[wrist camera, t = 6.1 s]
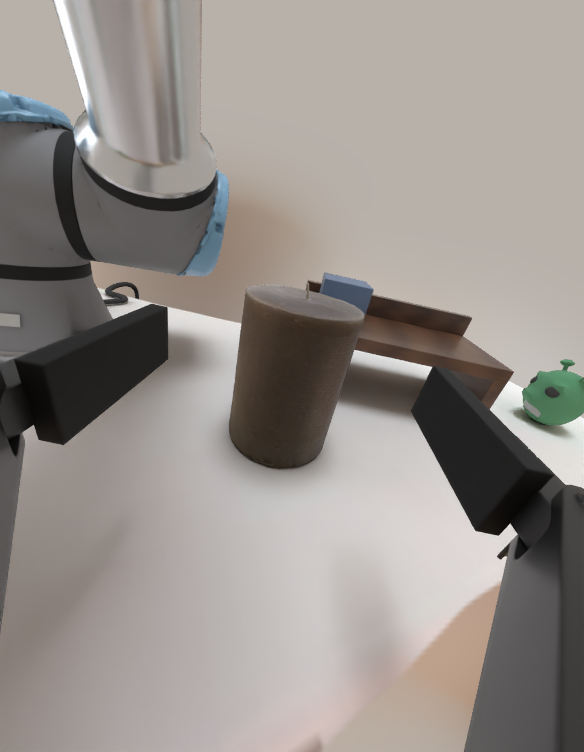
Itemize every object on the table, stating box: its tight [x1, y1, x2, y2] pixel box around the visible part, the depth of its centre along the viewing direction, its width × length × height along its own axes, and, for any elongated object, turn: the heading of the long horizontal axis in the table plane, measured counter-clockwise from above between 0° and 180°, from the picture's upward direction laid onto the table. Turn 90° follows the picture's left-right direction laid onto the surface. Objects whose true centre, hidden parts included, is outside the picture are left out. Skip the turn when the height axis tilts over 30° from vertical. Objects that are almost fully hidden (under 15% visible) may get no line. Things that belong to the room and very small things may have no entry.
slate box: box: [319, 273, 373, 317], centre depth 37 cm, size 6×6×5 cm
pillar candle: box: [229, 283, 364, 468], centre depth 24 cm, size 10×10×15 cm
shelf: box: [307, 280, 514, 409], centre depth 39 cm, size 26×14×12 cm, turn 86°
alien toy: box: [522, 359, 584, 425], centre depth 40 cm, size 7×8×10 cm
